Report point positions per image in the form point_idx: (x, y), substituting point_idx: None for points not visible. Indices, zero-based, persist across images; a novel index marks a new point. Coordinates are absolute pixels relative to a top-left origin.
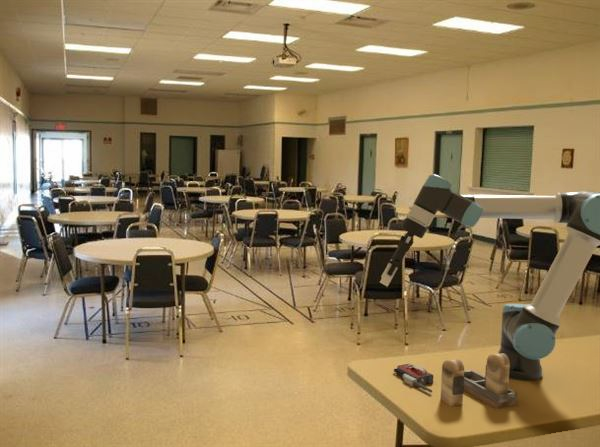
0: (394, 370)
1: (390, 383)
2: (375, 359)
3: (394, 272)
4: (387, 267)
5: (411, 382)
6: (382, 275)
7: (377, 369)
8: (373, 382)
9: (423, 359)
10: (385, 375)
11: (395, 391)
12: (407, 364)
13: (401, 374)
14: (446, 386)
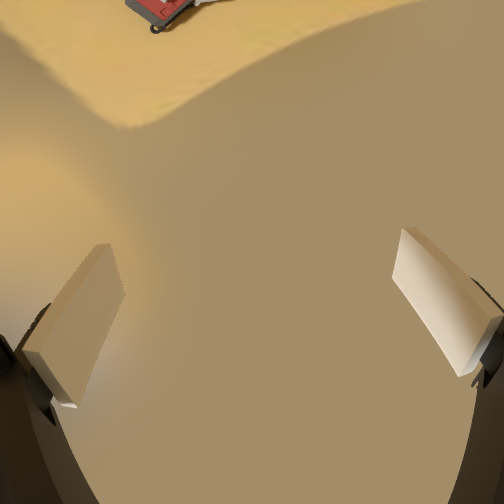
0: (162, 30)
1: (235, 28)
2: (81, 95)
3: (475, 290)
4: (97, 346)
5: None
6: (119, 301)
7: (146, 71)
8: (239, 63)
9: (32, 5)
10: (182, 45)
11: (285, 16)
12: (137, 6)
13: (183, 10)
14: None
